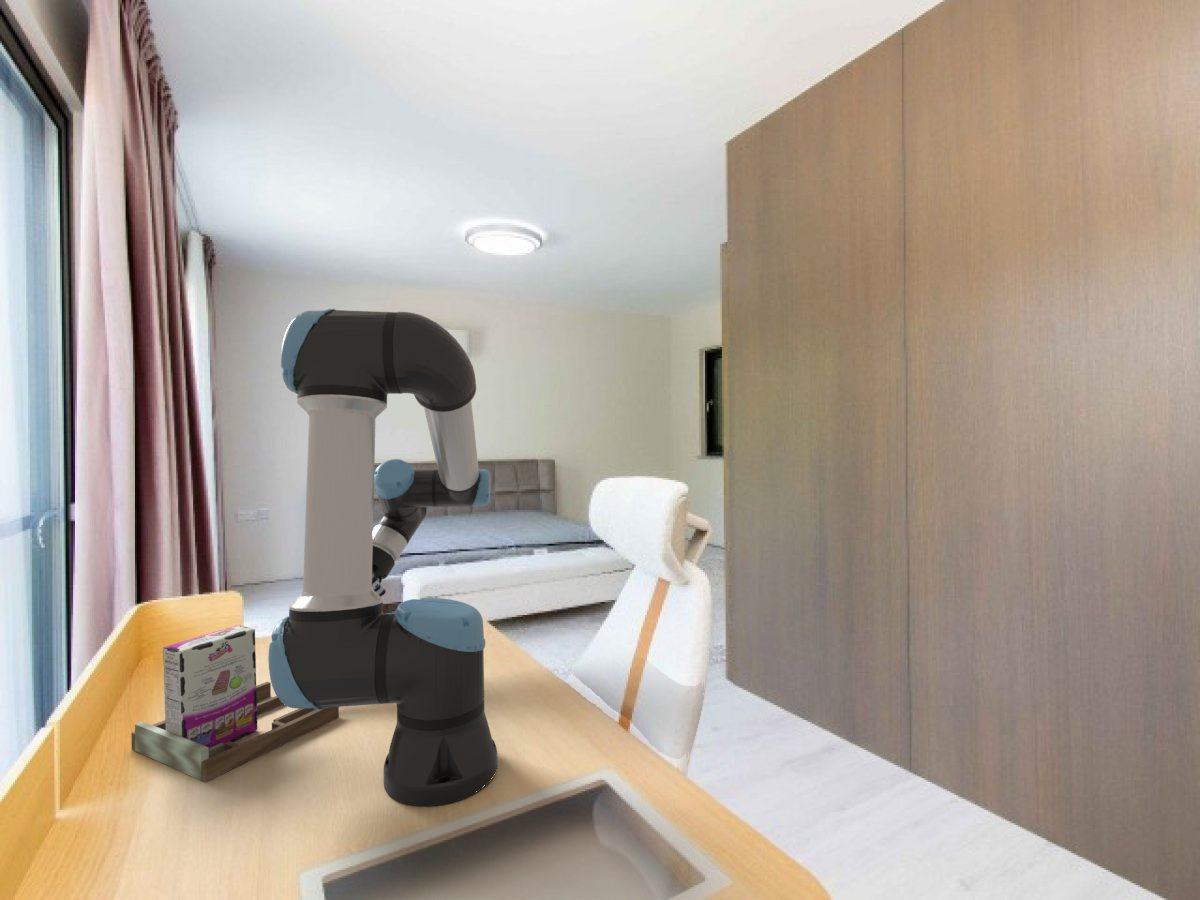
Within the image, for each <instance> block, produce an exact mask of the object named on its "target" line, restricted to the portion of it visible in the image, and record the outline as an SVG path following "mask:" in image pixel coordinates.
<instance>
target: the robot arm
mask: <svg viewBox="0 0 1200 900" xmlns="http://www.w3.org/2000/svg"><path fill="white" fill-rule="evenodd" d="M280 367H281V369H282V374H281V375H282V380H283V383H284V385H285V386H286V388H287V389H288V390H289V391H291V392H292V393H295V394H296V395H297V396H296V397H297V402H296V403H297V404H298V405H299V406H300V408H302V409H303V410H304V411H305V412H306V413H307V415H308V436H307V438H308V439H307V440H308V441H307V465H306V466H307V467H306V494H305V495H306V496H305V497H306V498H305V517H304V518H305V523H304V525H305V526H304V547H303V548H304V549H303V551H304V552H303V553H304V554H303V576H302V579H303V581H302V592H301V594H300V595H299V596H298V597H297V598H296V599H295V600H294V601H293V602H292V603H290V605H289V606H288V607H289V609H288V615H287V616H286V617H284V618H282V619H280V620H279V621H278V622H277V624H276V625H275V626H274V627H273V630H272V634H271V642H270V643H269V647H268V670H269V677H270V683H271V686H272V689H273V692H274V693H275V696H277V697H278V698H279V699H280V701H281V702H282V703H283V704H282V705H284V706H286V707H289V708H291V709H299V708H314V709H318V710H320V709H321V710H322V709H325V708H329V707H339V708H341V707H342V708H343V707H358V706H359V707H360V706H370V705H373V706H374V705H385V704H388V705H389V704H395V705H396V725H395V728H394V731H393V735H392V738H391V741H390V745H389V748H388V749H389V750H388V754H387V755H386V758H385V760H384V763H383V787H384V790H385V792H386V793H387V795H388V796H390V797H391V798H392V799H394V800H395V801H398V802H400V803H404V804H407V805H413V806H421V807H422V806H423V807H424V806H437V805H445V804H450V803H453V801H454V802H458V801H460V799H461V800H463V799H466V798H468V797H470V796H473V795H475V794H476V793H477V792H476V791H478V790H479V789H481V788H482V787H483V786H484V785H486V784H487V783H488V782H489V781H490V780H491V778H492V777H493V775H494V774H495V772H496V769H497V770H498V748H497V745H496V743H495V740H494V739H493V737H492V733H491V730H490V726H489V723H488V719H487V716H486V714H485V713H486V712H485V662H484V661H485V660H484V659H485V657H484V652H485V651H484V649H485V648H486V639H485V635H484V634H485V632H484V631H485V630H484V621H483V616H482V614H481V613H480V611H479V610H478V609H477V608H476V607H474V606H473V605H471V604H469V603H466V602H463V601H459V600H455V599H448V598H443V597H442V598H441V597H440V598H439V597H421V598H420V599H417V598H416V599H415V598H411V599H408V600H407V599H406V600H404V601H402V602H400V603H399V604H398V606H397V608H396V609H395V610H394V612H393V613H392V612H391V613H385V612H384V609H383V608H384V607H383V606H384V598H383V597H382V596H384V595H385V594H386V592H387V591H386V589H385V588H384V587H383V586H382V585H381V583H382V582H383V580H384V579H387V577H388V576H389V574H390V573H391V571H392V569H393V568H394V567H395V565H396V563H395V562H397V561H398V560H399V558H400V557H401V555H402V553H403V552H404V550H405V549H406V547H407V546H408V544H409V542H410V541H411V539H412V538H413V536H414V535H415V533H416V531H417V530H418V528H419V527H420V525H421V524H422V523H423V521H424V520H425V519H426V517H427V515H428V512H430V511H429V510H430V509H431V508H441V507H442V508H443V507H444V508H447V507H448V508H449V507H452V508H453V507H454V508H455V507H456V508H457V507H459V508H461V507H467V508H468V507H469V508H472V507H482V506H483V507H484V506H487V505H489V503H490V501H491V489H492V487H491V472H490V471H489V470H488V469H486V468H485V469H484V468H480V467H479V459H478V449H477V443H476V442H477V440H476V433H475V425H474V416H473V415H474V413H473V406H472V401H473V399H474V398H475V395H476V393H477V392H476V391H477V380H476V374H475V369H474V366H473V364H472V362H471V360H470V358H469V356H468V353H467V352H466V351H465V349H464V348H463V347H462V345H461V344H460V343H459V342H458V340H457V339H456V338H455V337H454V336H453V335H452V333H450V332H449V331H448V330H447V329H446V328H444V327H443V326H442V325H440V324H439V323H438V322H436V321H434V320H432V319H430V318H428V317H426V316H424V315H421V314H418V313H415V312H410V311H397V312H396V311H395V312H394V311H368V310H347V309H346V310H344V309H338V310H337V309H335V308H329V309H325V310H307V311H302V312H300V313H299V314H297V315H296V316H295V317H294V318H293V319H292V320H291V322H290V323H289V325H288V326H287V328H286V331H285V333H284V337H283V340H282V345H281V353H280ZM389 394H392V395H393V394H395V395H396V394H398V395H399V394H400V395H401V394H412V395H413V396H414V398H415V400H416V401H417V402H418V404H419V405H420V406H421V407H423V409H424V414H425V419H426V424H427V427H428V428H427V429H428V431H429V436H430V440H431V446H432V449H433V453H434V457H435V463H436V466H437V468H435V469H413V468H412V466H411V464H410V463H409V462H408V461H407V462H406V461H404V460H402V459H400V458H393V459H392V458H391V459H388V460H386V461H383V462H382V463H380V464H379V465H378V466H377V467H376V469H375V460H376V459H375V457H376V456H375V455H376V450H375V449H376V420H377V417H378V416H380V415H381V414H382V413H383V412H384V411H385V410H386V409H387V408H388V395H389ZM375 494H376V495H377V498H378V500H379V503H380V507H381V510H382V512H383V514H381V515H382V516H380V518H379V519H378V521H377V523H376V524H375V526H374V505H375V504H374V503H375V501H374V497H375ZM496 773H497V772H496ZM495 775H496V774H495ZM491 781H492V780H491ZM491 781H490V782H491ZM487 785H488V784H487ZM487 785H486V786H487ZM481 790H482V789H481ZM475 792H476V793H475ZM478 792H479V791H478ZM472 794H473V795H472ZM457 800H458V801H457ZM449 802H450V803H449Z"/></svg>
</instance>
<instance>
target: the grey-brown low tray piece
mask: <svg viewBox="0 0 1200 900" xmlns="http://www.w3.org/2000/svg"><path fill="white" fill-rule="evenodd" d="M271 686H272V683H271V681H270V682H269V681H265V682H263V683H260V684H256V693H257V716H258V715H260V714H262V713H265V712H267V711H271V710H272V709H274V708H278V707H279V706H281V705H284V704H283V703H282V702H281V701H280V699H279V698H278V697H277V696H276V695H275V696H273V697H271V696H272V695H271V693H272V692H271ZM265 699H266V700H265ZM339 709H340V707H329V708H325V709H322V710H321V709H320V710H318V709H314V708H296V709H294V710H292V711H290V712H288V713H285V714H284V715H281V716H278V717H277V718H275V719H273V722H271V730H268V731H266V732H264V733H262V734H260V735H257V736H255V737H252V738H251V739H248V740H246V741H244V742H241V743H240V744H239V743H235V742H234V741H233V742H231V741H230V742H228V743H226V744H224V743H220V744H217V745H215V746H213V747H210V748H208V747H206V746H203V745H201V744H198V743H196V742H193V741H191V740H188V739H186V738H183V737H181V736H178V735H176V734H173V733H171V732H168V731H166V730H165V719H164V720H162V721H158V722H157V723H153V724H151V723H148V722H145V721H143V720H142V721H139V722H136V723H134V731H133V732H131V734H130V735H131V750H132V751H134V752H137V753H139V754H141V755H143V756H146V757H148V758H150V759H153V760H155V761H157V762H159V763H162V764H163V765H165V766H168V767H171V768H172V769H175V770H176V771H179V772H181V773H183V774H186V775H189V776H190V777H192V778H194V779H197V780H199V781H201V782H204V783H207V782H209V781H211V780H213V779H215V778H217V777H219V776H222V775H223V774H225V773H227V772H230V771H232V770H233V769H236V768H237V767H240V766H242V765H244V764H245V763H248V762H251V761H252V760H254V759H257V758H258V757H260V756H263V755H264V754H267V753H269V752H271V751H272V750H275V749H277V748H279V747H281V746H283V745H285V744H287V743H289V742H291V741H293V740H295V739H297V738H299V737H301V736H303V735H305V734H307V733H310V732H312V731H314V730H316V729H318V728H319V727H321V726H325V725H326V724H328V723H330V722H332V721H334V720H336V719H338V718H339V717H340V710H339Z"/></svg>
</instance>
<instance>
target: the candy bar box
mask: <svg viewBox="0 0 1200 900" xmlns="http://www.w3.org/2000/svg"><path fill="white" fill-rule="evenodd" d="M162 649H163V651H162V657H163V685H164V687H163V688H164V689H163V690H164V692H163V693H164V716H165V717H164V720H165V730H166V731H168V732H171V733H173V734H176V735H178V736H181V737H183V738H186V739H188V740H191V741H193V742H196V743H198V744H201V745H203V746H206V747H208V748H210V747H213V746H215V745H217V744H220V743H224V744H226V743H228V742H230V741H231V742H233V743H234V742H235V741H237V740H239V739H241V738H243V737H245V736H247V735H250V734H251V733H253V732H257V730H258V715H257V704H258V702H257V693H256V686H257V662H256V660H257V659H256V658H257V657H256V628H253V627H248V626H242V625H233V626H231V627H227V628H225V629H220V630H216V631H214V632H210V633H207V634H203V635H200V636H197V637H194V638H188V639H186V640H183V641H180V642H177V643H173V644H169V645H166V646H163V647H162Z"/></svg>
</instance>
